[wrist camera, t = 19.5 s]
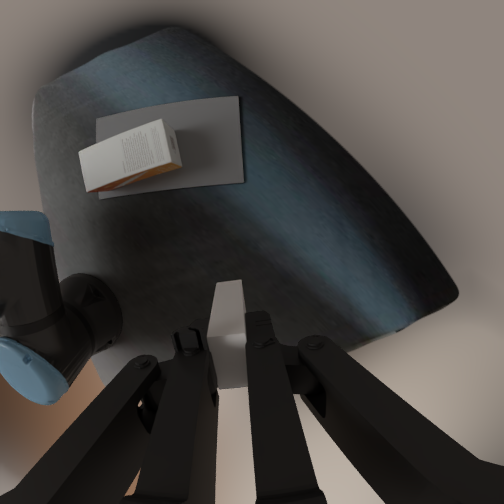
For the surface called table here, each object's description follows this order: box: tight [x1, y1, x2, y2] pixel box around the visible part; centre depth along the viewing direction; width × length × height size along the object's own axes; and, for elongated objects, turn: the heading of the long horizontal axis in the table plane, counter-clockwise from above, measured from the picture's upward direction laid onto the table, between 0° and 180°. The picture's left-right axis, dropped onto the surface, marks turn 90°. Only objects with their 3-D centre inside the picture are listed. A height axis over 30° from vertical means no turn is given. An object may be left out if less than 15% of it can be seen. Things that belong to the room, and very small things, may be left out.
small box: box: [79, 119, 182, 193], centre depth 36 cm, size 8×6×13 cm
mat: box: [96, 96, 244, 199], centre depth 40 cm, size 24×14×1 cm, turn 94°
